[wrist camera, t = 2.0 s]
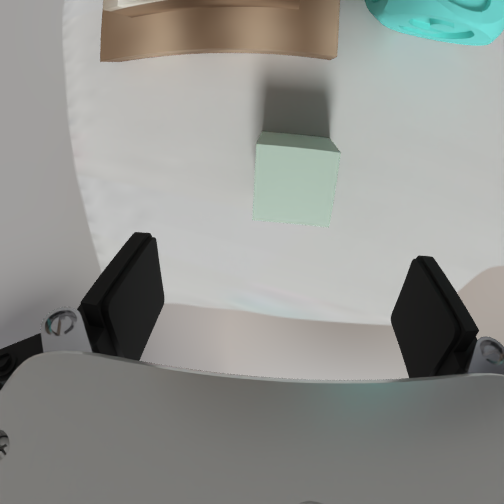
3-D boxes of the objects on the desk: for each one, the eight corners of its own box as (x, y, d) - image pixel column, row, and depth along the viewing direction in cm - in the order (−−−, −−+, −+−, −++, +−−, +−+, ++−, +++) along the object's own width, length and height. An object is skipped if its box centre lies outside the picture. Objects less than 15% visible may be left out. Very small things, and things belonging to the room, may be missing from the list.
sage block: (329, 137, 21) (340, 152, 17) (321, 199, 24) (329, 227, 19) (262, 131, 21) (256, 144, 17) (258, 193, 24) (252, 220, 20)
